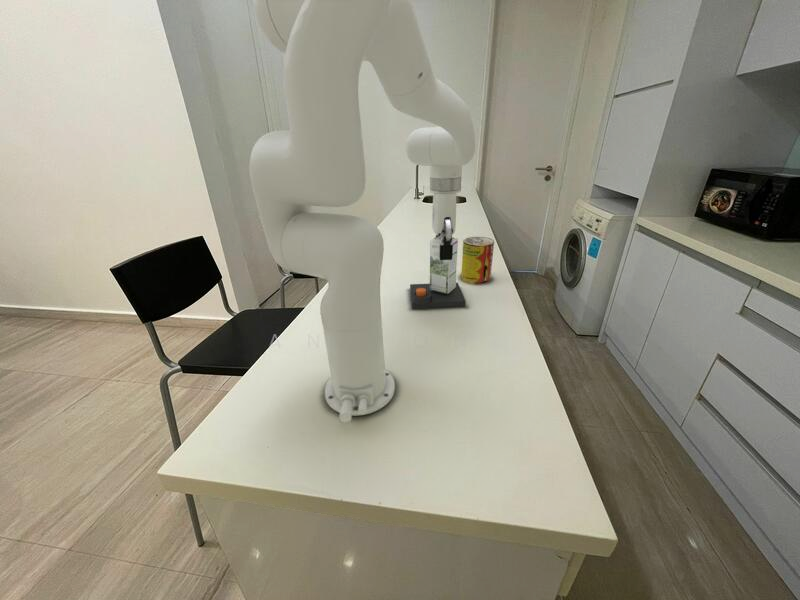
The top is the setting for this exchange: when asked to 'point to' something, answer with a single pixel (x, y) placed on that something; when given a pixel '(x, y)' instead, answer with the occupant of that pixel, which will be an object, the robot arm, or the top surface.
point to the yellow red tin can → (477, 259)
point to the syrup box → (442, 267)
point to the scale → (436, 298)
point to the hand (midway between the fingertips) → (443, 253)
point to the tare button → (421, 292)
